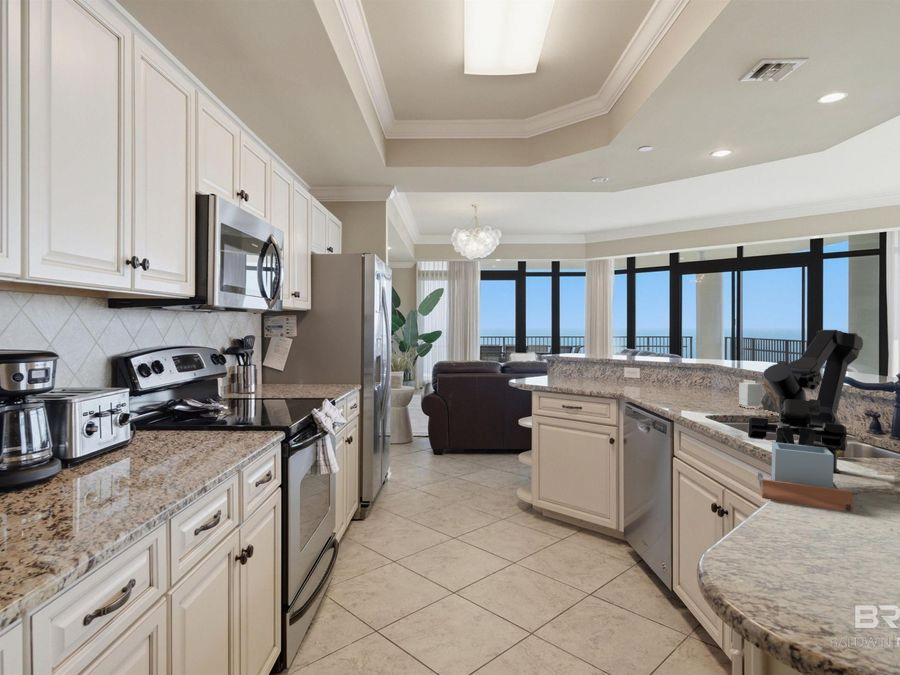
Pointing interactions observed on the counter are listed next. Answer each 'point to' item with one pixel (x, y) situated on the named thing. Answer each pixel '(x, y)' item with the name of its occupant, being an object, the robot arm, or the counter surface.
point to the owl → (770, 399)
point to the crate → (802, 465)
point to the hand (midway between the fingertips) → (797, 462)
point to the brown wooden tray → (806, 494)
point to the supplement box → (750, 394)
